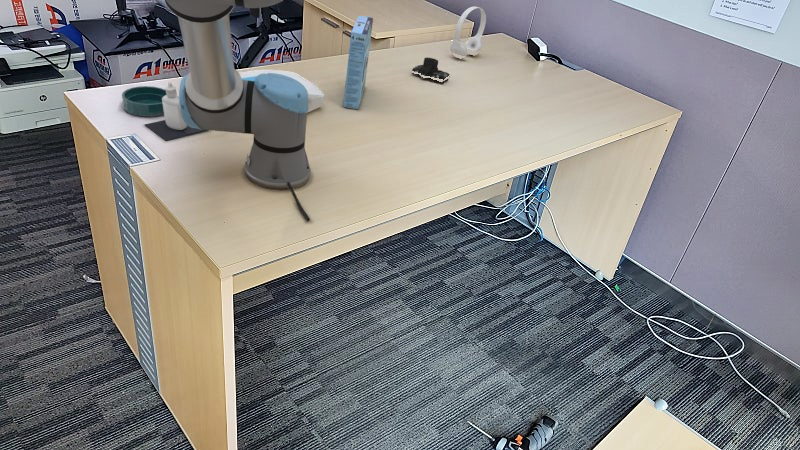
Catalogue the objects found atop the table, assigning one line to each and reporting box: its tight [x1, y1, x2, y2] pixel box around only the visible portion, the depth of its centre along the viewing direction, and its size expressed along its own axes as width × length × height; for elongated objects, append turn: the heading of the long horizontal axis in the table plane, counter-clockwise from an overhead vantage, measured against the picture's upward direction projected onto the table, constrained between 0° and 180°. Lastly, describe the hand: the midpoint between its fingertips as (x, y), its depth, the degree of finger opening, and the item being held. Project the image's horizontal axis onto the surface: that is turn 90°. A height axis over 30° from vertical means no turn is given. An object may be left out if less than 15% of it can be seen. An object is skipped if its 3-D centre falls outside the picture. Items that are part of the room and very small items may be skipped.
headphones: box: [449, 6, 487, 57], centre depth 239 cm, size 7×18×20 cm, turn 141°
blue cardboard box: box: [342, 15, 374, 110], centre depth 185 cm, size 20×5×23 cm, turn 177°
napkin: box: [144, 119, 210, 142], centre depth 154 cm, size 10×12×1 cm
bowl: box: [121, 85, 166, 117], centre depth 160 cm, size 12×12×4 cm
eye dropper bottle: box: [162, 81, 187, 130], centre depth 151 cm, size 4×6×12 cm
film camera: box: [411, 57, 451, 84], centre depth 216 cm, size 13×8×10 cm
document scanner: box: [237, 68, 325, 114], centre depth 173 cm, size 21×28×6 cm
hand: (231, 18), depth 144 cm, fingers open, 13 cm apart
